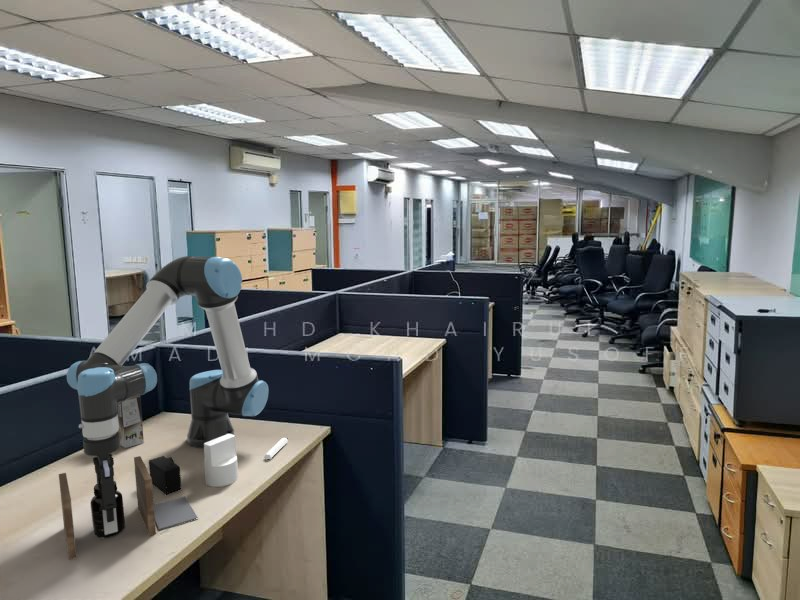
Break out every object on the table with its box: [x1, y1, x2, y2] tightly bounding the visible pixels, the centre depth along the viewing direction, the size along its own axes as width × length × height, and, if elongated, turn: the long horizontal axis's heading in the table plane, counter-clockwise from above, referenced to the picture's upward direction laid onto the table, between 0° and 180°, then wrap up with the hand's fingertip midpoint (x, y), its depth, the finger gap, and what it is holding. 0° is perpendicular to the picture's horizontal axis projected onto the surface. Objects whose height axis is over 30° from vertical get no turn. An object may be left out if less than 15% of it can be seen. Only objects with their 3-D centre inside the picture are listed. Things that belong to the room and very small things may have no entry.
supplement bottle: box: [90, 480, 126, 539], centre depth 134 cm, size 7×7×12 cm
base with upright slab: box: [203, 434, 239, 488], centre depth 160 cm, size 9×9×12 cm
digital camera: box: [148, 455, 182, 496], centre depth 156 cm, size 10×5×7 cm, turn 47°
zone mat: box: [154, 495, 199, 531], centre depth 143 cm, size 9×13×1 cm
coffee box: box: [117, 395, 145, 449], centre depth 186 cm, size 9×6×16 cm
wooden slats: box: [58, 455, 157, 560], centre depth 133 cm, size 18×15×14 cm
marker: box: [263, 437, 289, 461], centre depth 181 cm, size 3×2×16 cm
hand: (109, 525), depth 134 cm, fingers closed on supplement bottle, 7 cm apart
